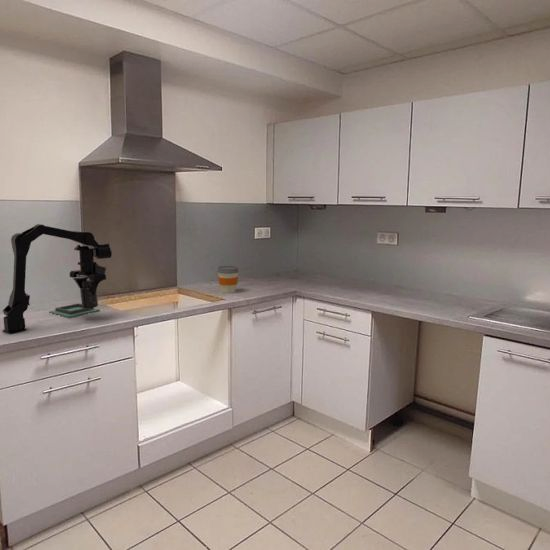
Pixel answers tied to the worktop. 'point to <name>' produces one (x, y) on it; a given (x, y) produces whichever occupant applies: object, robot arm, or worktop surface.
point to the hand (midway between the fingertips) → (88, 294)
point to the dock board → (73, 310)
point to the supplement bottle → (88, 296)
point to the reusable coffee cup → (228, 278)
